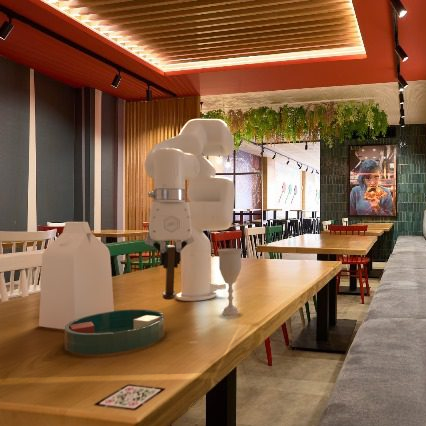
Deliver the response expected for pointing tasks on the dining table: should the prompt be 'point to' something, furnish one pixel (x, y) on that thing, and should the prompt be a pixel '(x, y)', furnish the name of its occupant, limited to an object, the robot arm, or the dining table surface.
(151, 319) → the cream block
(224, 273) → the chalice
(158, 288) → the dining table surface
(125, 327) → the bowl
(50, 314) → the milk
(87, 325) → the red block
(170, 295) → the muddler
